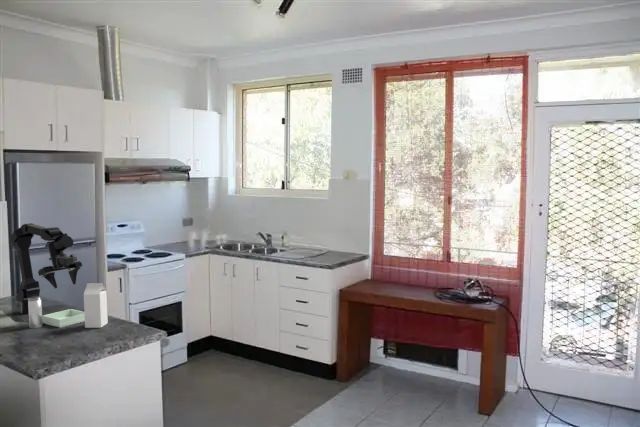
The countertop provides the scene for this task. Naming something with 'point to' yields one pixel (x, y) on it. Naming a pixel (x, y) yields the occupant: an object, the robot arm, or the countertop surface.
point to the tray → (64, 318)
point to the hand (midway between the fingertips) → (65, 286)
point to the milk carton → (95, 305)
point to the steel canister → (35, 312)
